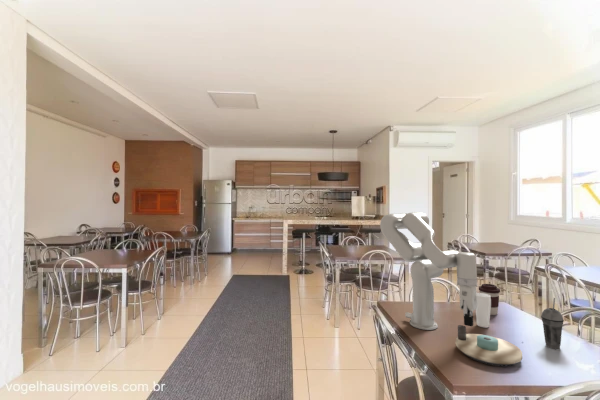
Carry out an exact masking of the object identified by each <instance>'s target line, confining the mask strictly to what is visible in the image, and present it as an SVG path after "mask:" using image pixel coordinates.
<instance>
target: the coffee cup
mask: <svg viewBox="0 0 600 400" xmlns="http://www.w3.org/2000/svg"><path fill="white" fill-rule="evenodd" d="M478 291H479V293H484V294H488V295H490V296H491V310H490V316H496V315H498V314H499V313H498V312H499V311H498V309H499V304H500V302H499V301H500V295H499V294H500V293H501V289H500V288H498V287H497V285H496V284H490V283H482V284H481V285H480V286H479V285H478Z"/></svg>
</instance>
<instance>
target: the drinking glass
mask: <svg viewBox="0 0 600 400" xmlns="http://www.w3.org/2000/svg"><path fill="white" fill-rule="evenodd" d="M476 293H477V308H476V309H475V310H474V311H475V318H476V325H477V326H478V327H480V328H484V329H485V328H487V329H488V328H490V319H491V315H490V310H491V296H490V295H488V294H484V293H480V292H476Z"/></svg>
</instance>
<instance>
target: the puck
mask: <svg viewBox="0 0 600 400" xmlns="http://www.w3.org/2000/svg"><path fill="white" fill-rule="evenodd" d="M494 337H495V336H492V337H491V335H487V334H486V335H485V334H481V335H478V336H477V346H478V347H480V348H482V349H485V350H489V351H496V350H498V340H497V339H496V338H497V337H496V338H494Z"/></svg>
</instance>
